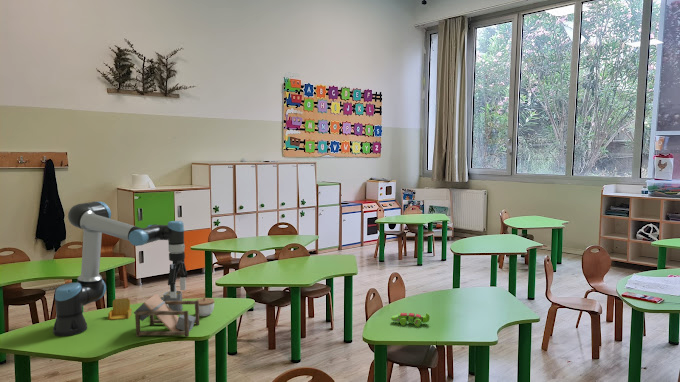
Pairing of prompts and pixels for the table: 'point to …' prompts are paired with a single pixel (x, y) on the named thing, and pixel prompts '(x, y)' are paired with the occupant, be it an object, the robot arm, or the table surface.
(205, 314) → the lidded jar
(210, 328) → the table surface
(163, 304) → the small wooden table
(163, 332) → the stand
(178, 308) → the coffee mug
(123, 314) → the yellow toy armchair
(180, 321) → the slate block
